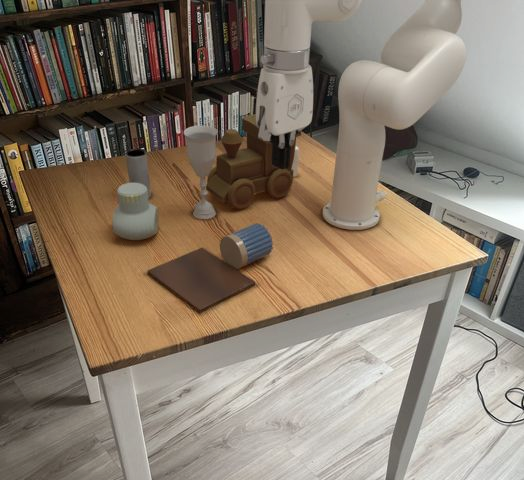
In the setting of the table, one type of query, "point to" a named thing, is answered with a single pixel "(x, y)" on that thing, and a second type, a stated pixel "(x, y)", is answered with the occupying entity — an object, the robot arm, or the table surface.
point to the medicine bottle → (295, 162)
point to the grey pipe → (138, 168)
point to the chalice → (202, 162)
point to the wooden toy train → (248, 168)
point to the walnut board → (201, 279)
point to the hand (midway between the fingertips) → (280, 165)
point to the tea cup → (246, 245)
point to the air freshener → (135, 213)
